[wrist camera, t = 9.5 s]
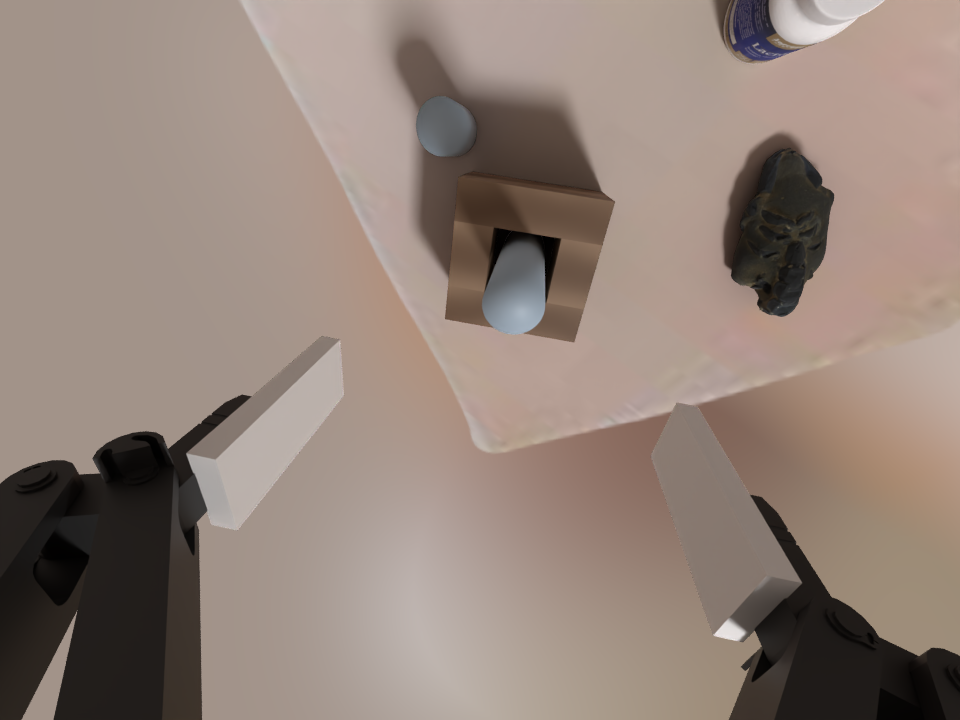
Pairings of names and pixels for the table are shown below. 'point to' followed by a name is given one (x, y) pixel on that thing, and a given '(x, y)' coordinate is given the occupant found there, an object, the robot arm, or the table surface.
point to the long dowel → (517, 285)
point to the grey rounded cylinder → (445, 127)
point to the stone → (783, 232)
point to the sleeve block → (535, 211)
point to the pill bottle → (786, 25)
